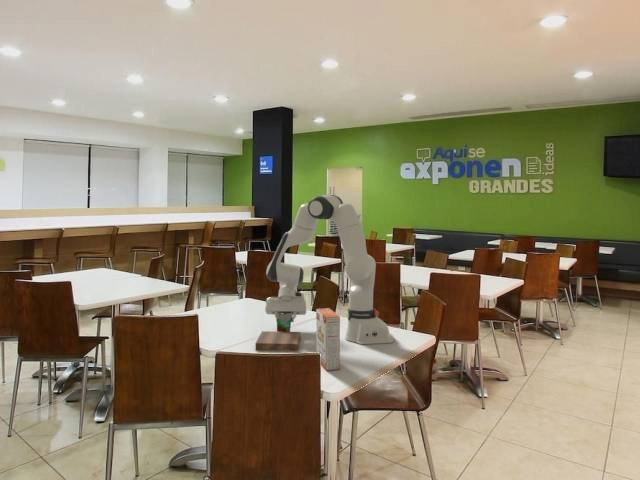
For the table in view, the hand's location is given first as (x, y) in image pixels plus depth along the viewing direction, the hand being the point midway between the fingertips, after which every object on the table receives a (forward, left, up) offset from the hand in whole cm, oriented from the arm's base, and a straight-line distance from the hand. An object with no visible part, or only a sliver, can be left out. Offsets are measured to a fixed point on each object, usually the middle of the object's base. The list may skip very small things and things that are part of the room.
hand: (284, 321), depth 224 cm
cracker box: (-21, +42, -6) cm, 48 cm away
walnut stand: (+1, +17, -6) cm, 18 cm away
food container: (0, -1, -6) cm, 6 cm away
